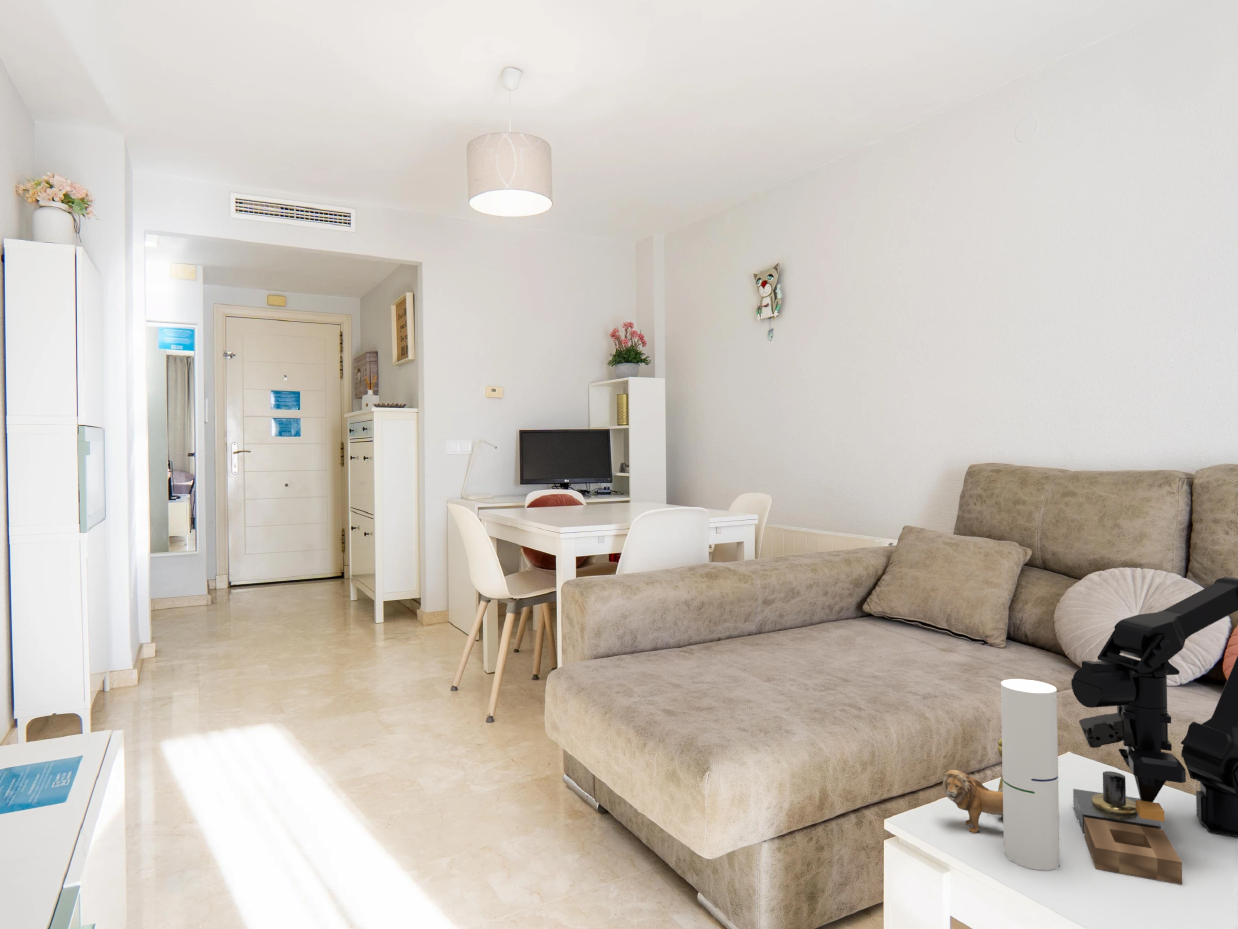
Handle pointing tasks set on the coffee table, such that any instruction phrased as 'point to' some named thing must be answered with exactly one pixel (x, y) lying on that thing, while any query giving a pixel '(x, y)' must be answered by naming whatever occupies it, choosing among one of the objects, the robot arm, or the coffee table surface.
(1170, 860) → the rack block
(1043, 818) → the cylindrical container
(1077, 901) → the coffee table surface
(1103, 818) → the socket block
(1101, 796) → the dark flanged cylinder
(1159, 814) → the cardboard box
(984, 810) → the lion figurine
